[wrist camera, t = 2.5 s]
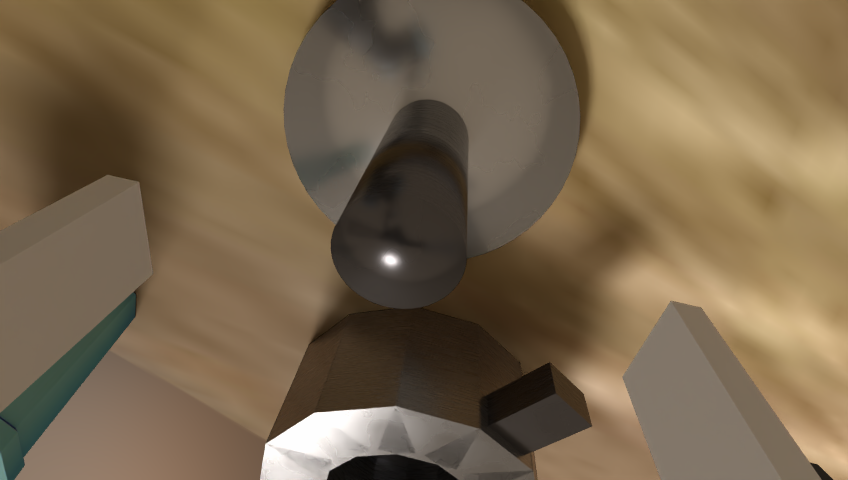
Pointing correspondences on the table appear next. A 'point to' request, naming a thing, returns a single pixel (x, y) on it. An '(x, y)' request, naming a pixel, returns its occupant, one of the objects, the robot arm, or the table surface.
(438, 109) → the lid
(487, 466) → the pot
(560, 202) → the table surface
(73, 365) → the cup
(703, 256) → the table surface
